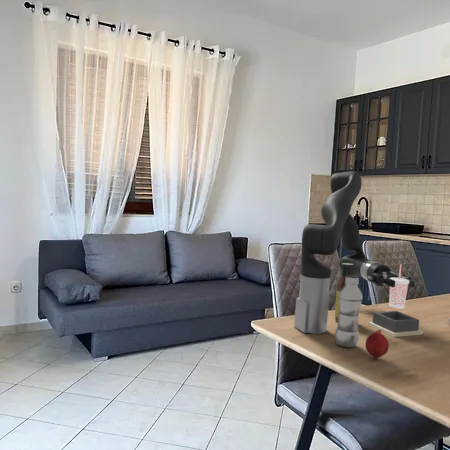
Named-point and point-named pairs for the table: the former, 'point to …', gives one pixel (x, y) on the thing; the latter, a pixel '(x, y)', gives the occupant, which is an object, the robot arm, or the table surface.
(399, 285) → the beverage cup
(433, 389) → the table surface
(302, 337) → the table surface
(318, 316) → the robot arm
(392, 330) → the grey tray on board
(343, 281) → the sauce bottle
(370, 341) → the onion
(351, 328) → the plastic bottle
